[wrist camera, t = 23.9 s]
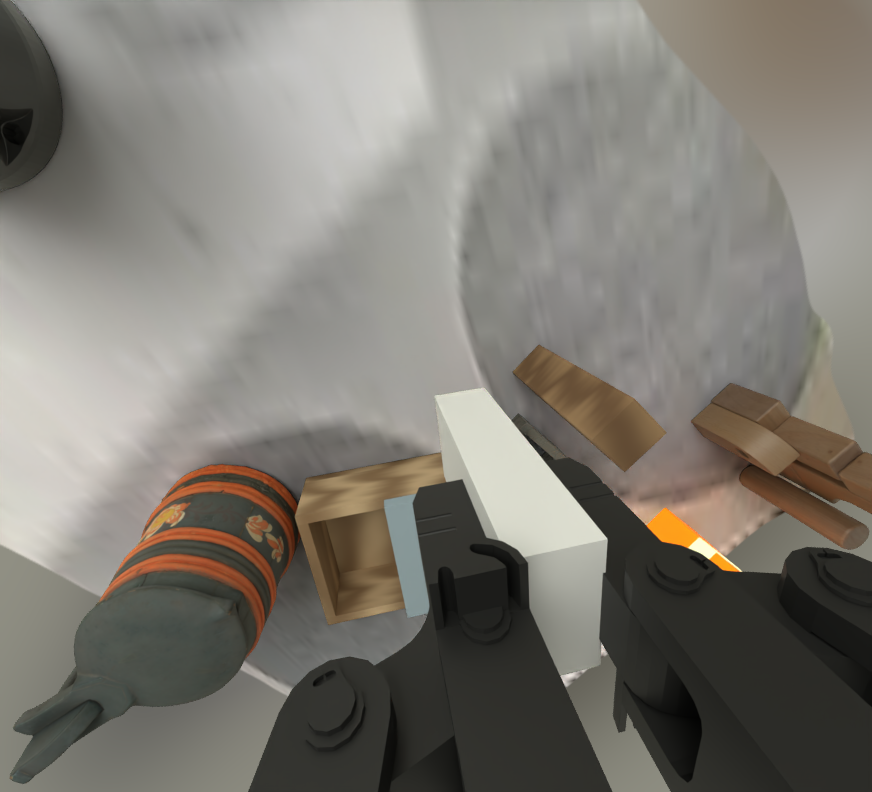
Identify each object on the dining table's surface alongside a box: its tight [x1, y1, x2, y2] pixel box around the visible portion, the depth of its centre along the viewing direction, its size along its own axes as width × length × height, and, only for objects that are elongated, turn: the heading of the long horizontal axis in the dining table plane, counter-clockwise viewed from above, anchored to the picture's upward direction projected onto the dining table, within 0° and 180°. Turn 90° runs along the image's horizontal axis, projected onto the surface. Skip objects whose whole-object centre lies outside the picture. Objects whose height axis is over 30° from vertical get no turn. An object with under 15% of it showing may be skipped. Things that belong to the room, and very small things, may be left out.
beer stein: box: [10, 464, 301, 784], centre depth 36 cm, size 19×15×20 cm
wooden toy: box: [691, 383, 872, 550], centre depth 40 cm, size 16×7×25 cm, turn 46°
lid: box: [384, 494, 429, 618], centre depth 40 cm, size 18×14×4 cm
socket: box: [512, 414, 567, 462], centre depth 46 cm, size 7×7×2 cm
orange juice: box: [647, 508, 742, 572], centre depth 46 cm, size 8×9×20 cm
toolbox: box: [295, 453, 446, 625], centre depth 44 cm, size 18×14×7 cm
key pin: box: [513, 345, 666, 472], centre depth 36 cm, size 4×4×17 cm
